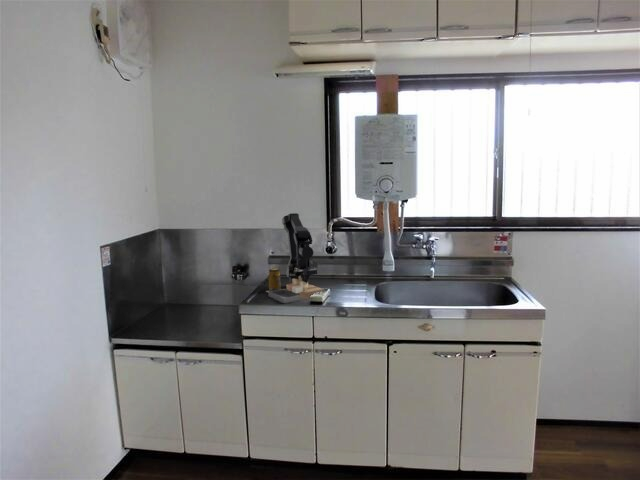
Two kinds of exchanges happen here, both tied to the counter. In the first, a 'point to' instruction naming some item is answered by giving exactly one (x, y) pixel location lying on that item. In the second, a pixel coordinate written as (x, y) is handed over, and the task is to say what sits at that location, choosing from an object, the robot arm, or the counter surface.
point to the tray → (284, 296)
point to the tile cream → (297, 289)
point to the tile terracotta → (290, 286)
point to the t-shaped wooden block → (300, 283)
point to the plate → (309, 291)
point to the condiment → (274, 280)
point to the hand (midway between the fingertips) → (303, 285)
